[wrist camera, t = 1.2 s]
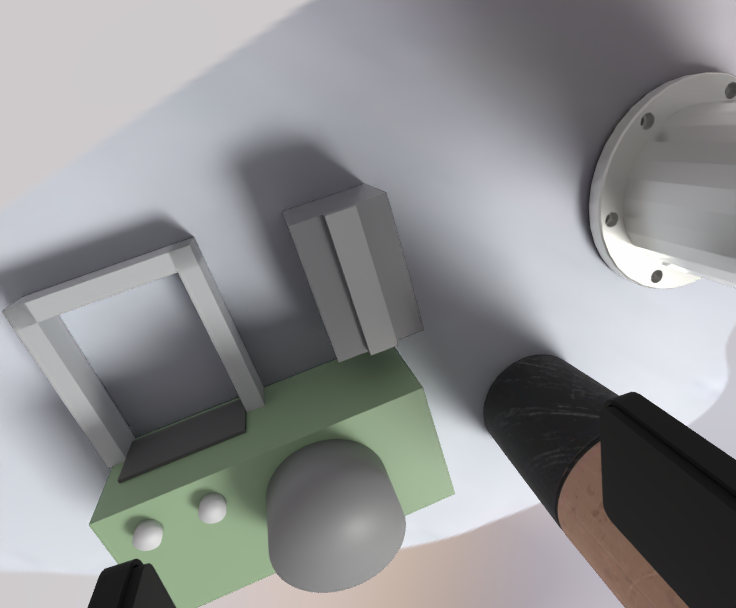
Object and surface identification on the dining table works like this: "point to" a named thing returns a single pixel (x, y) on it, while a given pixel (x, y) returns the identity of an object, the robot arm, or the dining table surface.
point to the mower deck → (246, 452)
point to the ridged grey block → (355, 270)
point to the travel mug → (570, 467)
